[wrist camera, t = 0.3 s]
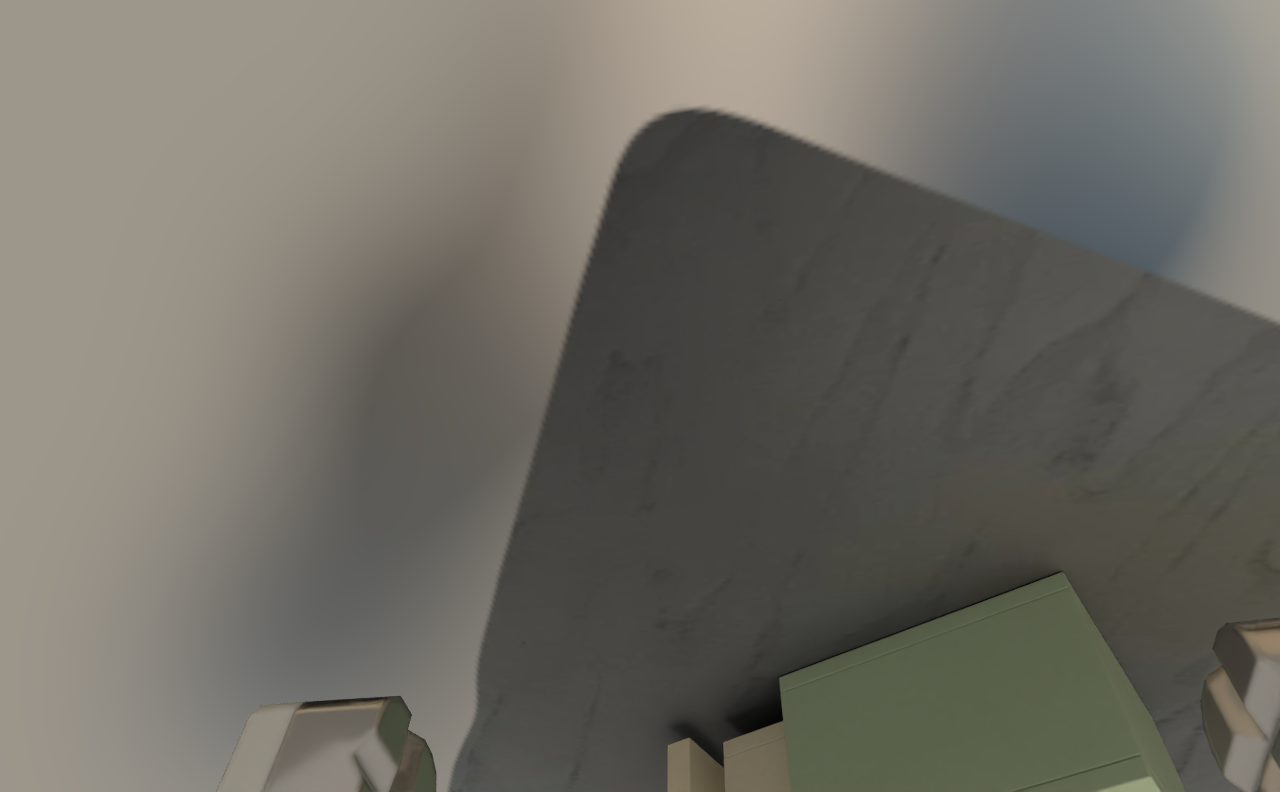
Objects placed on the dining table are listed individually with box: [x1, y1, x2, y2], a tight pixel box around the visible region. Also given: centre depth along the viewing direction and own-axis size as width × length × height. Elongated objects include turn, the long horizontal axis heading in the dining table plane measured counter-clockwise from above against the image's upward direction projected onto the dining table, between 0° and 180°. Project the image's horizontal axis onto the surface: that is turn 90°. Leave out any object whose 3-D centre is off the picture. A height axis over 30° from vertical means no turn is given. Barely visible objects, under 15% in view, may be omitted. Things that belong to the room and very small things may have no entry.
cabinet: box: [779, 572, 1186, 792], centre depth 38 cm, size 13×12×9 cm
